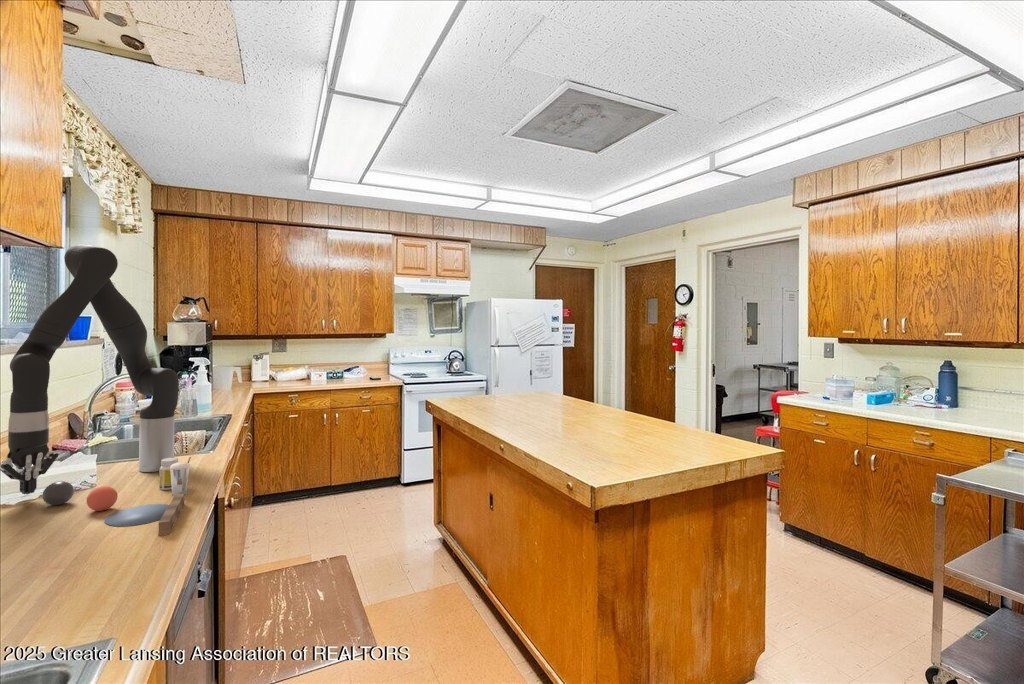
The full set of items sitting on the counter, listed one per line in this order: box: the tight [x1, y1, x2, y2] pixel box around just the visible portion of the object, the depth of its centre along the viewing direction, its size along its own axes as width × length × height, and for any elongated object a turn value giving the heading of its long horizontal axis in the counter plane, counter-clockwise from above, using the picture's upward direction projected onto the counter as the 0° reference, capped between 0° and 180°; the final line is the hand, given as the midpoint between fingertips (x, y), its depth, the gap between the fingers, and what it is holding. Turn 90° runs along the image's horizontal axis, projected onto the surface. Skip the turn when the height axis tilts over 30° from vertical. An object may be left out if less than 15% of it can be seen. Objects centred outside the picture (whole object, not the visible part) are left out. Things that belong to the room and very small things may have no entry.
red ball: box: [86, 485, 118, 512], centre depth 121 cm, size 6×6×6 cm
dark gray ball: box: [42, 480, 75, 506], centre depth 124 cm, size 6×6×6 cm
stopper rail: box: [157, 493, 186, 536], centre depth 117 cm, size 20×2×3 cm, turn 26°
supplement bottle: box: [158, 457, 179, 491], centre depth 139 cm, size 5×5×8 cm
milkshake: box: [170, 456, 192, 497], centre depth 134 cm, size 4×5×10 cm
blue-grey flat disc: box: [104, 503, 169, 527], centre depth 119 cm, size 14×14×1 cm
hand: (28, 493), depth 125 cm, fingers closed
